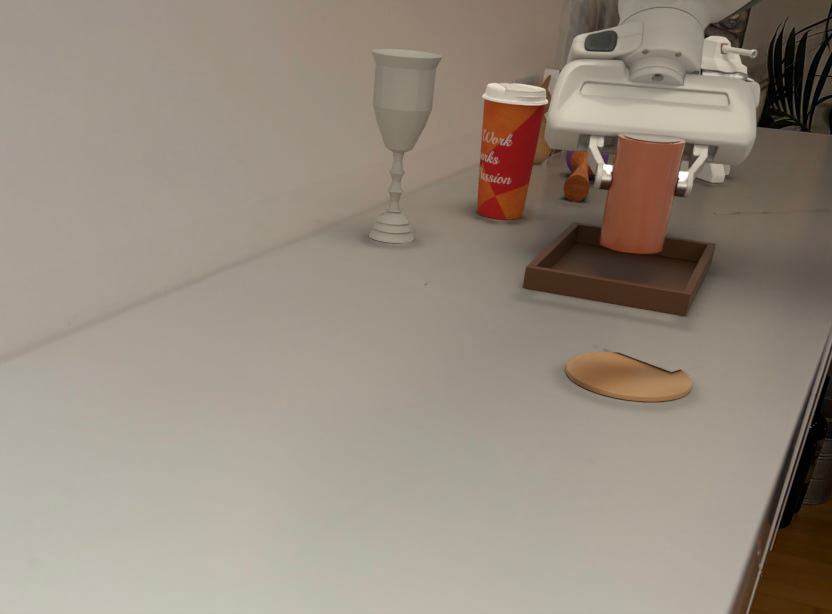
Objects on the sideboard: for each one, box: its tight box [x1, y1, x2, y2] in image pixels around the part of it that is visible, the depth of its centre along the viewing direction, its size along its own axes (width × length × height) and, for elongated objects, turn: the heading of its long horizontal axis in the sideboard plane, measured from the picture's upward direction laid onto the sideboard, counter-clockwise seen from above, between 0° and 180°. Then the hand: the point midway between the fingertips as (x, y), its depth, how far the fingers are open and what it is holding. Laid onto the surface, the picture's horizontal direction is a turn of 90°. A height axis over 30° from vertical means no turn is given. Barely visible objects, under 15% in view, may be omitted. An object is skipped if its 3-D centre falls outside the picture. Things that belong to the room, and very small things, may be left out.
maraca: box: [562, 150, 610, 203], centre depth 148 cm, size 6×6×20 cm
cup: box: [599, 132, 686, 254], centre depth 106 cm, size 6×6×10 cm
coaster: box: [565, 351, 693, 403], centre depth 87 cm, size 10×10×1 cm
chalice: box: [368, 48, 443, 244], centre depth 115 cm, size 7×7×18 cm
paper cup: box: [476, 82, 549, 220], centre depth 129 cm, size 8×8×14 cm
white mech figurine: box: [680, 35, 758, 184], centre depth 157 cm, size 12×13×18 cm
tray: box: [522, 221, 717, 317], centre depth 110 cm, size 22×16×3 cm
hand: (641, 189), depth 106 cm, fingers closed on cup, 6 cm apart
